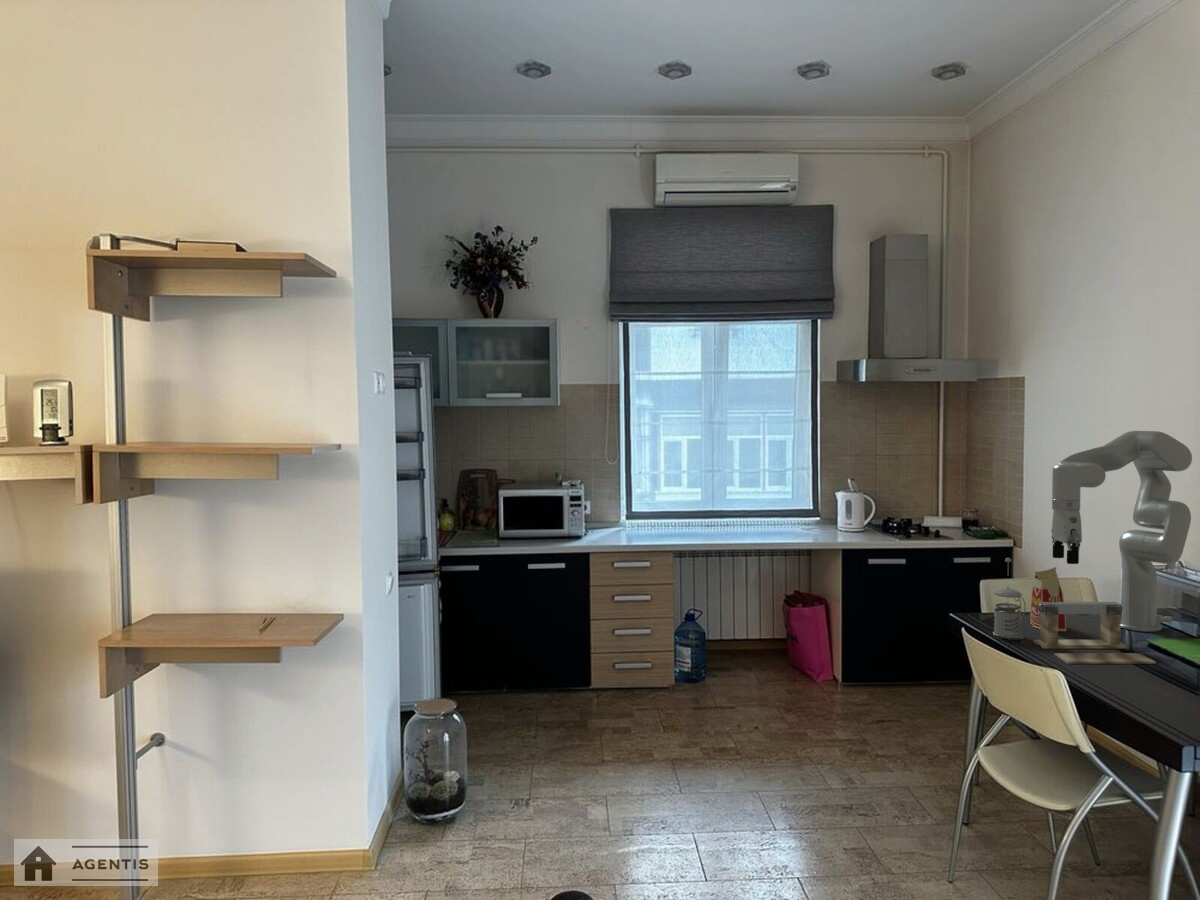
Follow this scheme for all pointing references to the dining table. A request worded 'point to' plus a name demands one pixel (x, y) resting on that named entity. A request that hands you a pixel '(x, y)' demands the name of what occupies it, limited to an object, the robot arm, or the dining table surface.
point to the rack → (1107, 640)
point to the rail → (1078, 607)
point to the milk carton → (1046, 596)
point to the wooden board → (1104, 658)
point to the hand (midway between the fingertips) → (1065, 560)
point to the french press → (1008, 613)
